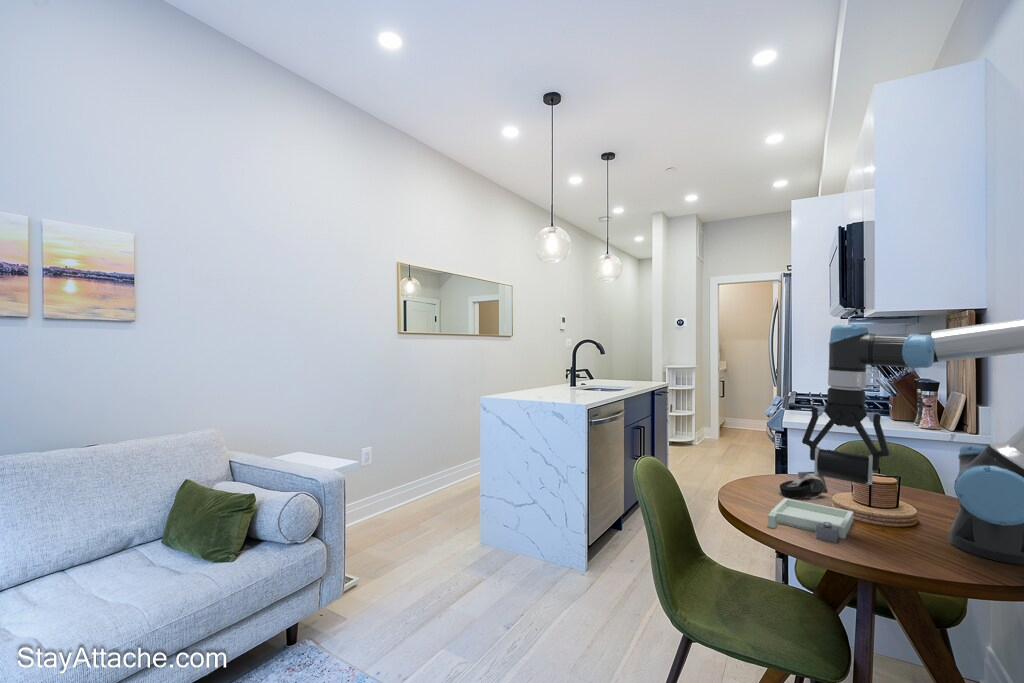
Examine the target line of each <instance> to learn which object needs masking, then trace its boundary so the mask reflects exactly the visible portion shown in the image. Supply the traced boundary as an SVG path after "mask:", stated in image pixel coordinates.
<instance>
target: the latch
mask: <svg viewBox="0 0 1024 683" xmlns="http://www.w3.org/2000/svg"><path fill="white" fill-rule="evenodd" d="M815 534H816V539H817V540H821V541H824V542H825V541H826V542H829V543H834V544H837V543H838V541H839V539H840V538H839V527H837V526H832V524H831V523H830V522H824V524H823V523H818V525H817V526H816V532H815Z"/></svg>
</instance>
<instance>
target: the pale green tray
mask: <svg viewBox="0 0 1024 683" xmlns="http://www.w3.org/2000/svg"><path fill="white" fill-rule="evenodd" d="M824 522H830V523H831V524H832V526H837V527H839V539H845V540H846V537H847V535H848V533H849V531H850V529H851V527H852V525H853V523H854V511H852V510H847V509H842V508H837V507H831V506H828V505H827V506H826V505H822V504H818V503H812V502H806V501H803V500H802V501H801V500H796V499H793V498H788V497H784V498H783V499H781V501H780V502H779V503H778V504H777V505H776V506H774V508H772V509H771V511H770V512H769V513H768V514H767V527H768V528H770V529H776V528H777V527H778V526H779V524H780V525H782V526H783V525H784V526H788V527H793V528H795V529H800V530H806V531H810V532H814V533H816V526H817V525H818V523H823V524H824Z"/></svg>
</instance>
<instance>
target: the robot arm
mask: <svg viewBox="0 0 1024 683" xmlns="http://www.w3.org/2000/svg"><path fill="white" fill-rule="evenodd" d="M829 338H830V339H829V342H828V347H829V348H828V350H829V352H828V370H827V371H828V372H827V373H828V374H827V385H828V386H829V387H828V388H827V395H826V396H827V400H826V402H827V403H826V406H825V407H821V406H819V407H818V406H813V407H812V408H811V418H810V420H809V423H808V426H807V428H806V429H805V433H804V435H803V437H802V439H801V443H802V444H803V445H806V446H809V448H810V449H809V459H810V460H811V461H814V469H813V470H814V471H813V472H814V474H815V475H818V474H819V473H818V471H817V458H818V453H819V450H820V449H821V447H819V446H818V445H819V444H820V443H821V441H822V440H823V439H824V438H825V437H826V435H827V434H828V432H830V430H831V429H832V428H833V426H834V425H836V426H838V427H842V426H843V427H844V426H845V427H847V428H854V429H855V430H856V432H857V433H858V434H859V436H860V438H861V439H862V440H863V442H864V444H865V446H866V447H867V449H868V450H869V452H870V454H869V455H868V457H869V469H868V482H867V485H869V486H870V485H871V486H872V484H873V478H874V476H873V474H874V471H876V472H877V471H878V470H879V469H880V458H882V457H888V456H889V455H890V449H889V446H888V443H887V440H886V437H885V434H884V431H883V428H882V424H881V417H882V415H881V413H880V412H869V411H867V410H866V406H865V405H866V391H865V390H863V389H864V388H866V383H867V382H866V381H867V365H868V366H882V367H883V366H885V367H898V368H909V369H919V368H920V369H922V368H923V369H928V368H931V367H932V366H933V364H934V363H941V362H949V361H950V362H951V361H961V360H968V359H979V358H988V357H997V356H1004V355H1005V356H1006V355H1007V356H1008V355H1016V354H1024V317H1021V318H1013V319H1008V320H1000V321H995V322H994V321H993V322H987V323H980V324H973V325H966V326H959V327H953V328H947V329H946V328H945V329H939V330H933V331H925V332H919V333H910V334H908V333H869V328H868V326H866V325H862V324H860V325H859V324H857V325H856V324H853V325H852V324H843V325H842V324H840V325H838V324H837V325H834V326H832V327H831V329H830V336H829ZM823 413H825V415H826V416H827V417H828V418H829V420H828V422H827V423H826V424H825V425H824V427H823V428H822V429H821V430H820V432H819V433H818V434H817V435H816V437H815V438H814V439H813V440H811V438H812V434H813V433H814V429H815V427H816V425H817V422H818V420H819V417H821V416H822V415H823ZM866 417H867V418H868V419H869V422H870V423H872V424H873V428H874V432H875V435H876V437H877V441H878V444H879V448H880V450H879V449H878V448H877V446H876V445H875V444H874V442H873V440H872V438H871V437H870V436H869V433H868V432H867V430H866V429H865V427H864V425H863V424H862V421H863V420H864V419H865V418H866ZM958 459H959V462H958V463H959V470H958V474H957V477H956V479H955V481H954V486H953V487H954V488H953V489H954V492H955V495H956V497H957V499H958V501H959V508H958V512H957V515H956V516H955V519H954V521H953V522H952V525H951V526H950V529H949V538H948V541H949V542H950V544H952V545H953V546H954V547H956V548H958V549H960V550H962V551H964V552H967V553H968V554H969V553H970V554H972V555H975V556H978V557H982V558H986V559H989V560H993V561H998V562H1001V563H1007V564H1013V565H1014V564H1015V565H1021V566H1023V565H1024V425H1023V426H1022V427H1020V428H1019V429H1018V430H1017V431H1016V432H1015V433H1014V434H1013V435H1012V436H1011V437H1010V438H1009V439H1008V440H1007V441H1005V442H990V444H988V446H986V447H984V446H975V445H963V446H961V447H960V448H959V453H958Z"/></svg>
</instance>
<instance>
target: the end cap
mask: <svg viewBox="0 0 1024 683" xmlns="http://www.w3.org/2000/svg"><path fill="white" fill-rule="evenodd" d="M868 469H869V456H867V455H864V454H858V453H848V452H842V451H838V450H831V449H823V448H820V450H819V453H818V458H817V471H818V473H819V474H820V476H824V478H825V477H826V478H831V479H836V480H840V481H846V482H851V483H856V484H861V485H862V484H863V485H866V484H867V483H868Z"/></svg>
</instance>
